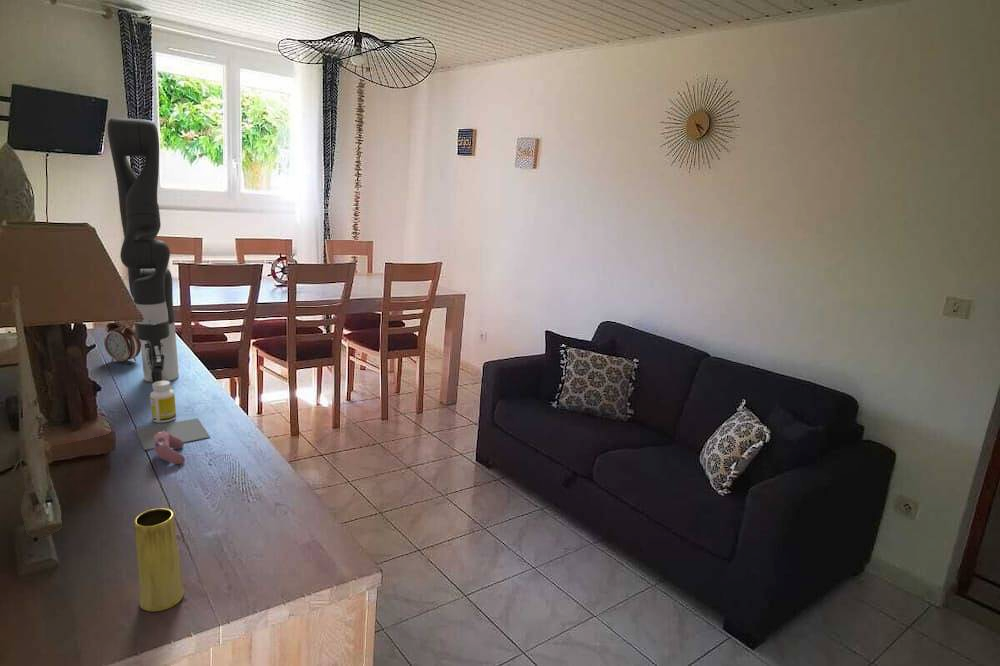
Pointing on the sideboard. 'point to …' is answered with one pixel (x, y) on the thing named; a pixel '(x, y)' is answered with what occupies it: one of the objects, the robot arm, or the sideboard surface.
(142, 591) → the vase
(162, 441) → the video game controller
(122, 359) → the alarm clock
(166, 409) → the supplement bottle
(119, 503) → the sideboard surface
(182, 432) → the mat
